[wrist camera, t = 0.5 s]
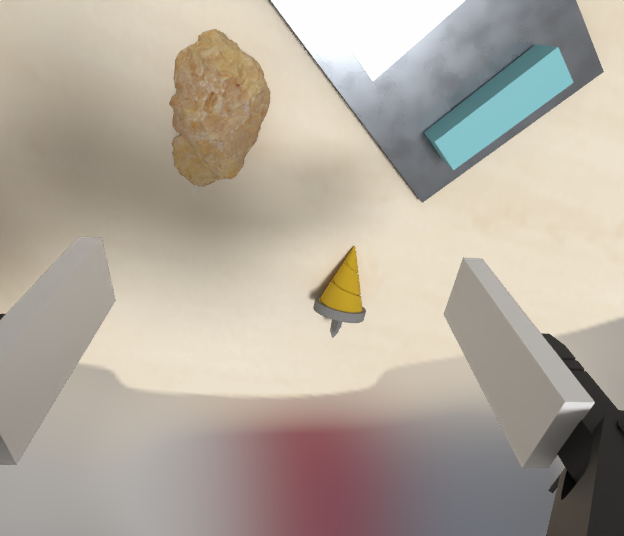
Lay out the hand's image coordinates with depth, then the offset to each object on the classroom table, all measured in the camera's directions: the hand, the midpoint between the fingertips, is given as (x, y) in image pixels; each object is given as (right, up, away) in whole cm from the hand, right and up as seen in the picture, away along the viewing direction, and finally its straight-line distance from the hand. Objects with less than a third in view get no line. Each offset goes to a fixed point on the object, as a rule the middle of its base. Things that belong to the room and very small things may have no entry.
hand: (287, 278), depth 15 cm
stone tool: (-8, +17, +15) cm, 24 cm away
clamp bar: (+15, +14, +18) cm, 27 cm away
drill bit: (+3, -7, +27) cm, 28 cm away
